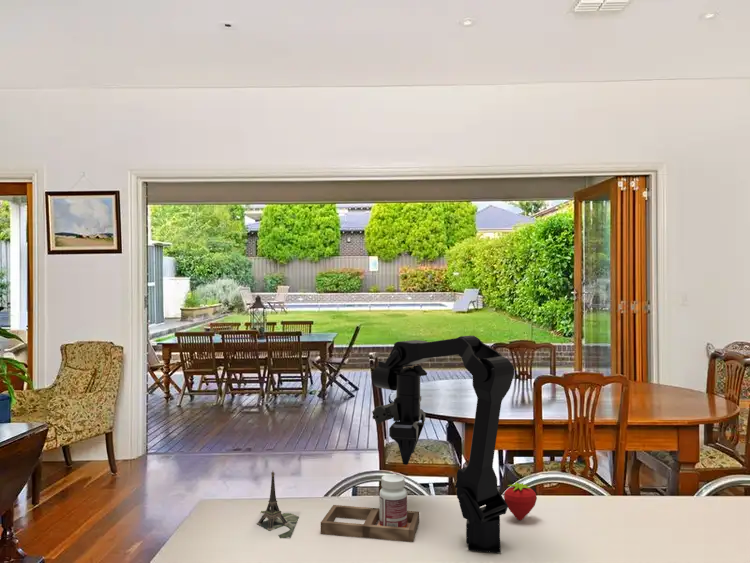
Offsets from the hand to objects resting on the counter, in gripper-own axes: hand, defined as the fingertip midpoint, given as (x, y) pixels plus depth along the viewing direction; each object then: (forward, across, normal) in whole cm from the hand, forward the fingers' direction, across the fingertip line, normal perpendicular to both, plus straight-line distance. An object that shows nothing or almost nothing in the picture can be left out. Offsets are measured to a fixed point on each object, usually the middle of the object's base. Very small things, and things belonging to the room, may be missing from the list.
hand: (408, 458), depth 137 cm
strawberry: (+13, -1, +26) cm, 29 cm away
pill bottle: (+13, +10, -2) cm, 17 cm away
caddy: (+13, +10, -7) cm, 18 cm away
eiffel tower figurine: (+14, +12, -29) cm, 34 cm away
